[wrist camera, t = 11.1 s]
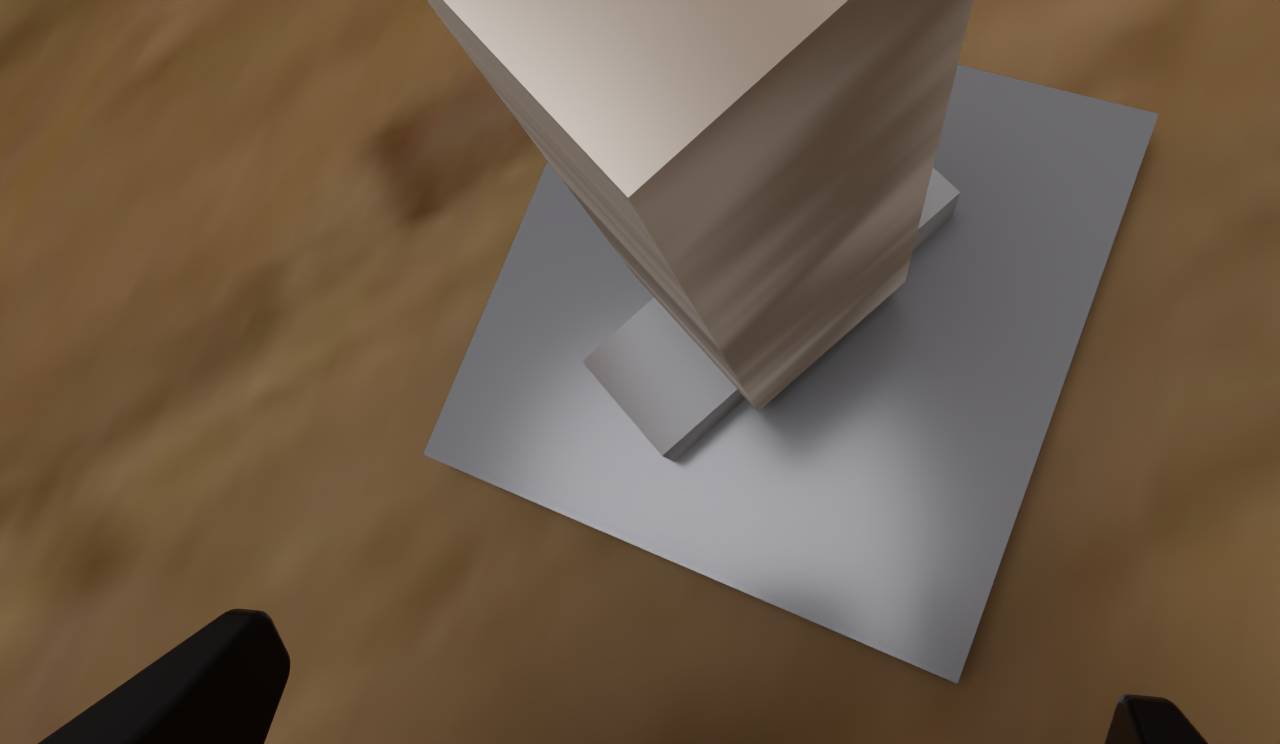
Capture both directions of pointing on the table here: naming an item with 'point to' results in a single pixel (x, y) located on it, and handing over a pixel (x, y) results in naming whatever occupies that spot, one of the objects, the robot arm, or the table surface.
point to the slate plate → (829, 388)
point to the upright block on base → (732, 172)
